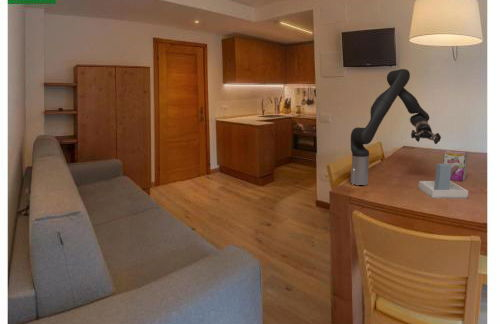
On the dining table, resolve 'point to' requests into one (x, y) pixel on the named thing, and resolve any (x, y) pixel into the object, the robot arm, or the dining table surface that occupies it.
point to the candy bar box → (456, 164)
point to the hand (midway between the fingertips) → (427, 141)
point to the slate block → (442, 177)
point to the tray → (452, 193)
